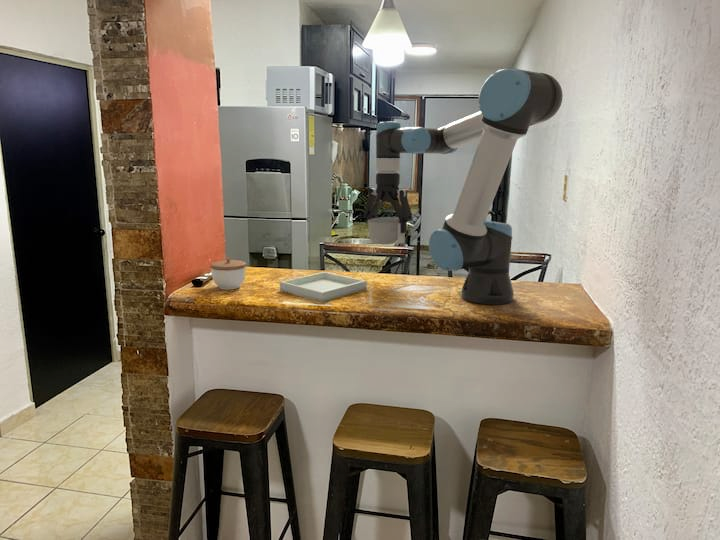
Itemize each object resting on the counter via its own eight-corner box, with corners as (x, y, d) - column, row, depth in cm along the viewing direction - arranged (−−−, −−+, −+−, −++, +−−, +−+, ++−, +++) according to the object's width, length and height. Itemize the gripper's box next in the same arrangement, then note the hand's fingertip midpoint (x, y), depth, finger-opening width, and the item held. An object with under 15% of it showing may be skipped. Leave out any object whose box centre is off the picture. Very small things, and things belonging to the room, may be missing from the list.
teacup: (395, 246, 167) (396, 221, 165) (362, 244, 170) (363, 219, 168) (406, 240, 179) (407, 216, 178) (376, 238, 183) (376, 215, 181)
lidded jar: (242, 291, 164) (240, 261, 162) (207, 291, 164) (205, 261, 162) (250, 283, 174) (249, 255, 172) (217, 283, 175) (216, 254, 173)
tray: (366, 289, 168) (366, 280, 168) (322, 302, 154) (322, 292, 153) (324, 279, 180) (324, 271, 180) (279, 290, 166) (279, 281, 165)
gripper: (425, 173, 165) (423, 243, 170) (367, 171, 180) (367, 236, 184) (410, 173, 159) (409, 246, 164) (352, 171, 174) (352, 238, 179)
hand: (386, 241), depth 174 cm, fingers closed on teacup, 11 cm apart
